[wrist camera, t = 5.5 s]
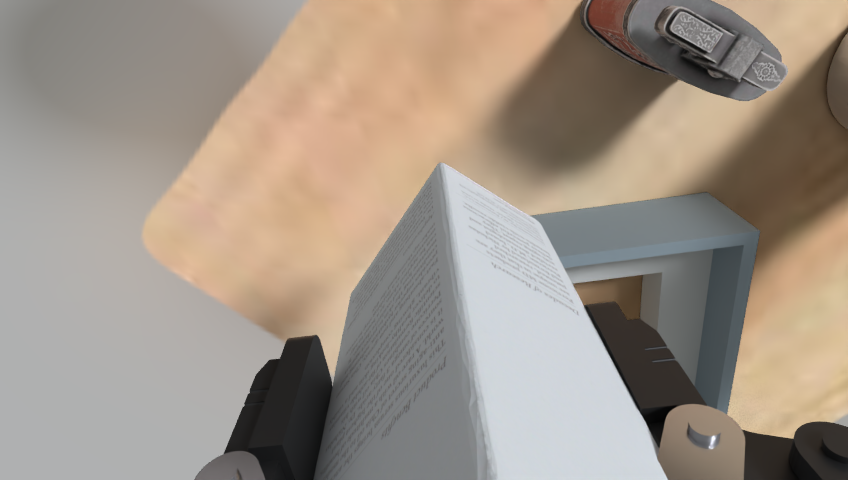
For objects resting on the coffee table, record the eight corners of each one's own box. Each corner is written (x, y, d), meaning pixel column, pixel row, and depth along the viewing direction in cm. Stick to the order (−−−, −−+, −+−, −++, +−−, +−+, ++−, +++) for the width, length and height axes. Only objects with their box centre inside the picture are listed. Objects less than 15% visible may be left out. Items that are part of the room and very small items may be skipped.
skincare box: (448, 341, 19) (482, 785, 9) (349, 291, 18) (249, 726, 8) (548, 218, 17) (761, 618, 6) (441, 152, 16) (483, 501, 5)
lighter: (714, 33, 30) (840, 57, 21) (678, 87, 32) (782, 130, 23) (600, -31, 29) (685, -35, 20) (568, 28, 30) (633, 49, 21)
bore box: (707, 192, 35) (760, 230, 29) (682, 389, 43) (720, 447, 38) (445, 227, 36) (450, 270, 30) (470, 414, 44) (477, 474, 38)
